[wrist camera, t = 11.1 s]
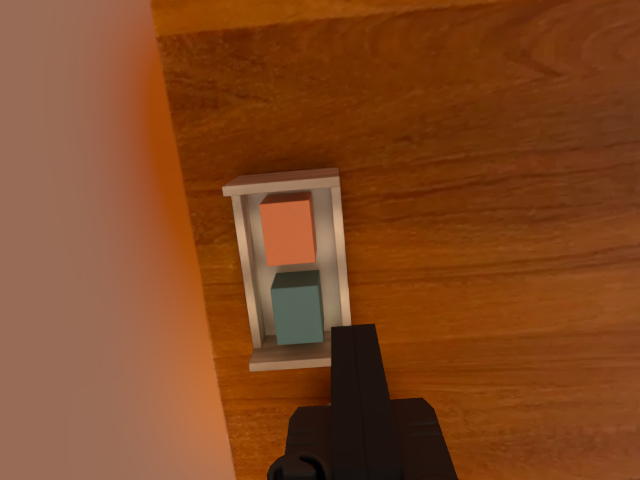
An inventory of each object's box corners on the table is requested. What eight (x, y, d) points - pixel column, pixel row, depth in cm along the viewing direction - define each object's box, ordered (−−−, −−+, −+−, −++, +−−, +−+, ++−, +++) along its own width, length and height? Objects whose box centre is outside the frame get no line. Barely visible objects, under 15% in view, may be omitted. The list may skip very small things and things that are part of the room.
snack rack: (237, 175, 41) (221, 186, 35) (338, 166, 40) (339, 176, 35) (260, 338, 45) (249, 372, 39) (351, 332, 45) (354, 364, 39)
